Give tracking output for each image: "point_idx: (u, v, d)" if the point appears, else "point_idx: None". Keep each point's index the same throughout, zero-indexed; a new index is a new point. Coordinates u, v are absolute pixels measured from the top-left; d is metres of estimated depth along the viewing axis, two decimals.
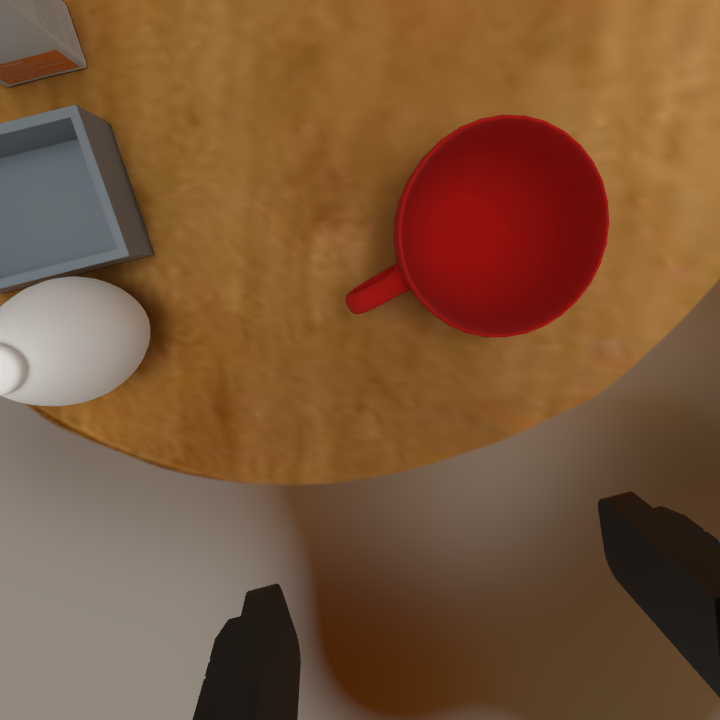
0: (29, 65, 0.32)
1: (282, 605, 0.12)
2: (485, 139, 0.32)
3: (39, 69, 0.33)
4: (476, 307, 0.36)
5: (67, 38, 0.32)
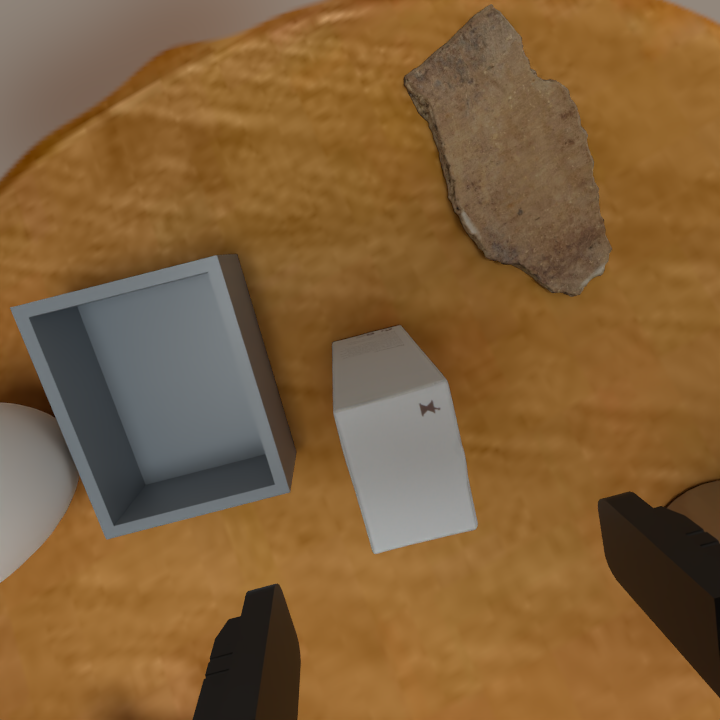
0: None
1: (282, 605, 0.12)
2: None
3: None
4: None
5: None
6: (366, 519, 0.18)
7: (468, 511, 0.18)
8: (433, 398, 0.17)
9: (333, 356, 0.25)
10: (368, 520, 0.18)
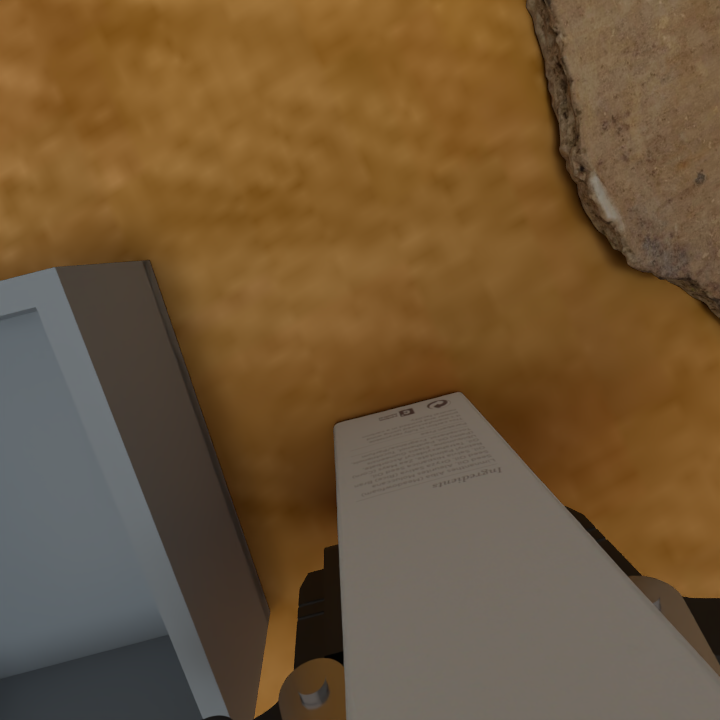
0: None
1: None
2: None
3: None
4: None
5: None
6: None
7: None
8: None
9: (338, 479, 0.12)
10: None
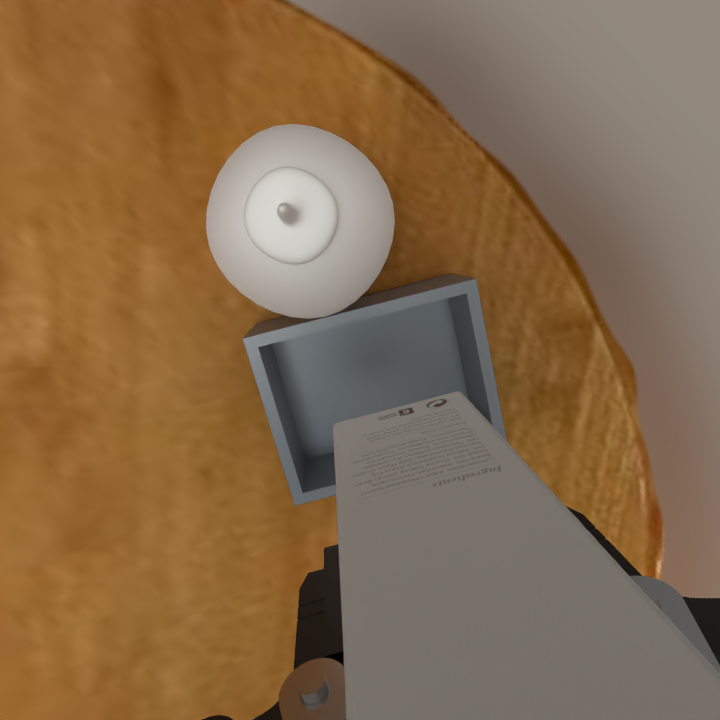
0: None
1: None
2: None
3: None
4: None
5: None
6: None
7: None
8: None
9: (338, 478, 0.12)
10: None
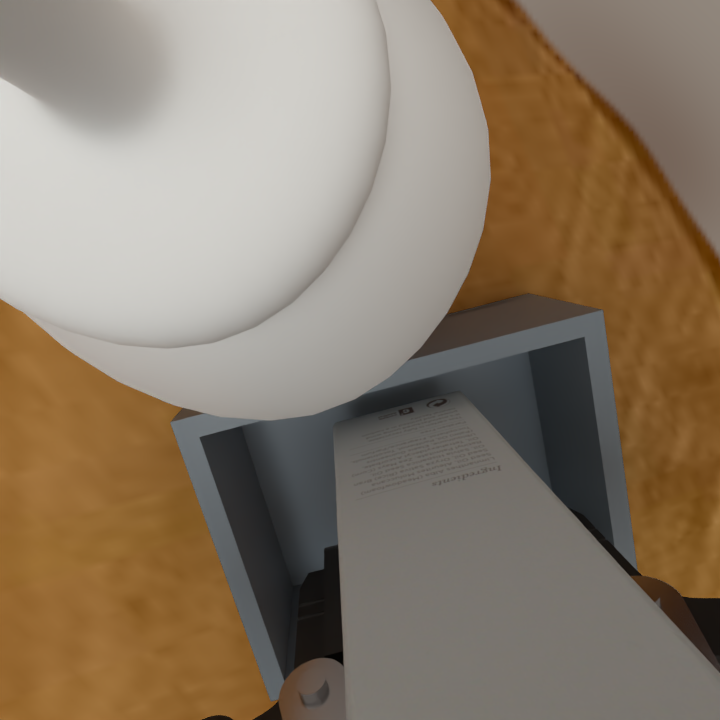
0: None
1: None
2: None
3: None
4: None
5: None
6: None
7: None
8: None
9: (337, 478, 0.12)
10: None
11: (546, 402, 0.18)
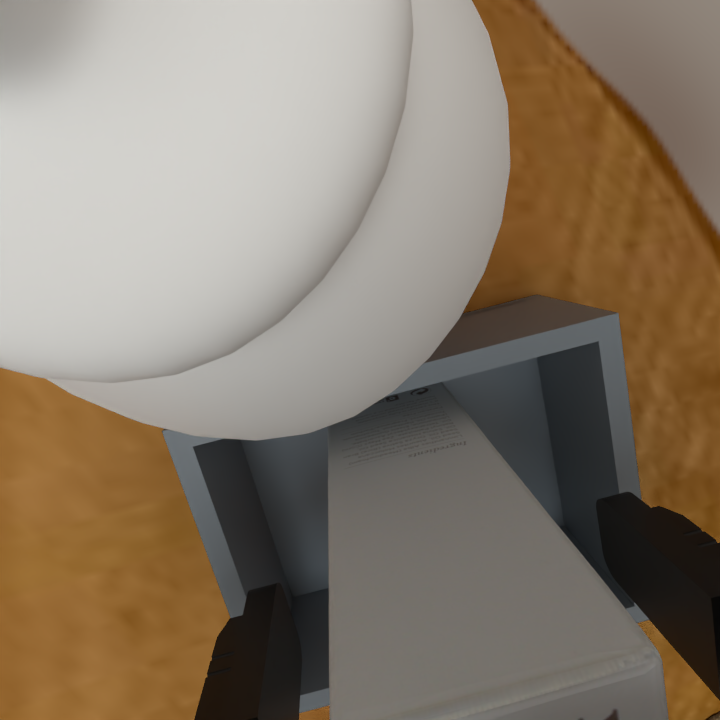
0: None
1: (284, 604, 0.12)
2: None
3: None
4: None
5: None
6: None
7: None
8: (621, 703, 0.06)
9: (330, 452, 0.14)
10: None
11: (555, 408, 0.17)
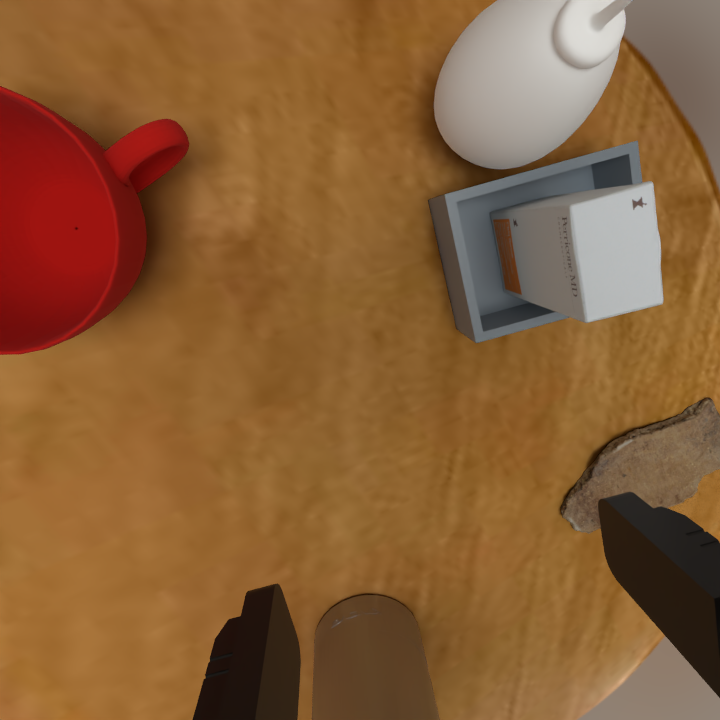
0: (509, 259, 0.33)
1: (282, 605, 0.12)
2: (51, 330, 0.29)
3: (504, 259, 0.34)
4: (26, 133, 0.28)
5: None
6: (584, 293, 0.24)
7: (658, 288, 0.24)
8: (643, 195, 0.23)
9: (509, 209, 0.31)
10: (585, 294, 0.24)
11: None
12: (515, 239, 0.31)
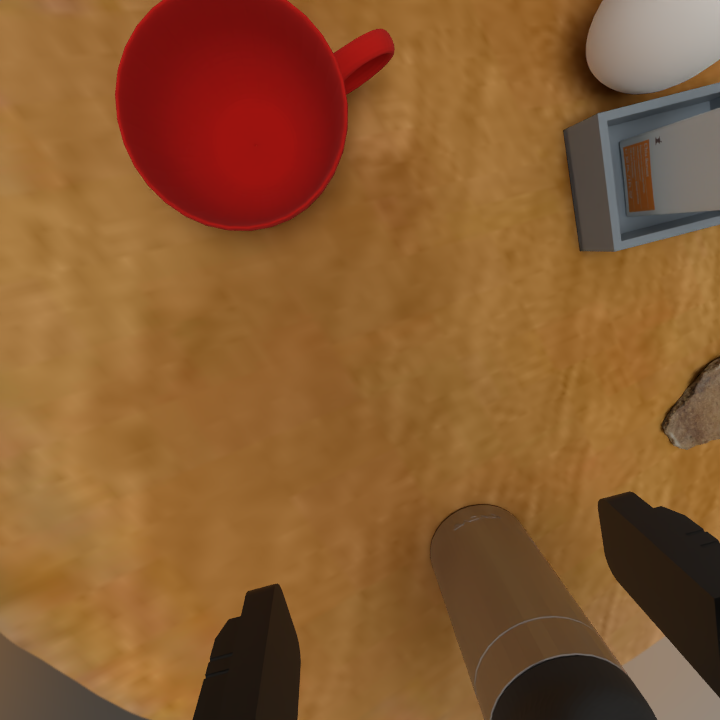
0: (642, 179, 0.37)
1: (282, 605, 0.12)
2: (253, 222, 0.33)
3: (634, 181, 0.38)
4: (239, 48, 0.32)
5: None
6: None
7: None
8: None
9: None
10: None
11: None
12: (655, 156, 0.35)
